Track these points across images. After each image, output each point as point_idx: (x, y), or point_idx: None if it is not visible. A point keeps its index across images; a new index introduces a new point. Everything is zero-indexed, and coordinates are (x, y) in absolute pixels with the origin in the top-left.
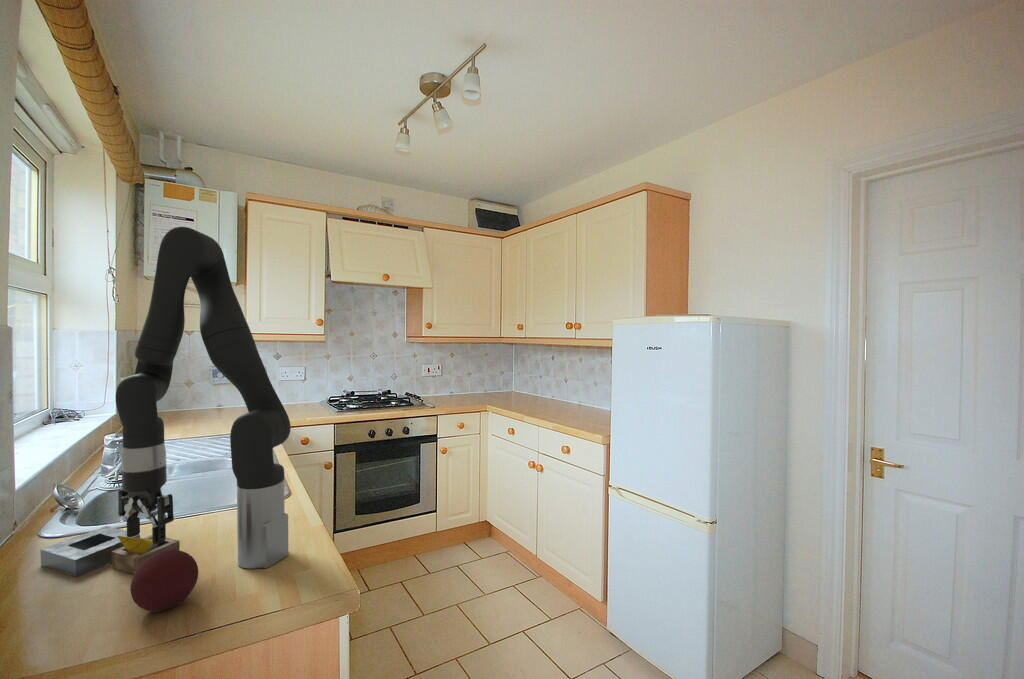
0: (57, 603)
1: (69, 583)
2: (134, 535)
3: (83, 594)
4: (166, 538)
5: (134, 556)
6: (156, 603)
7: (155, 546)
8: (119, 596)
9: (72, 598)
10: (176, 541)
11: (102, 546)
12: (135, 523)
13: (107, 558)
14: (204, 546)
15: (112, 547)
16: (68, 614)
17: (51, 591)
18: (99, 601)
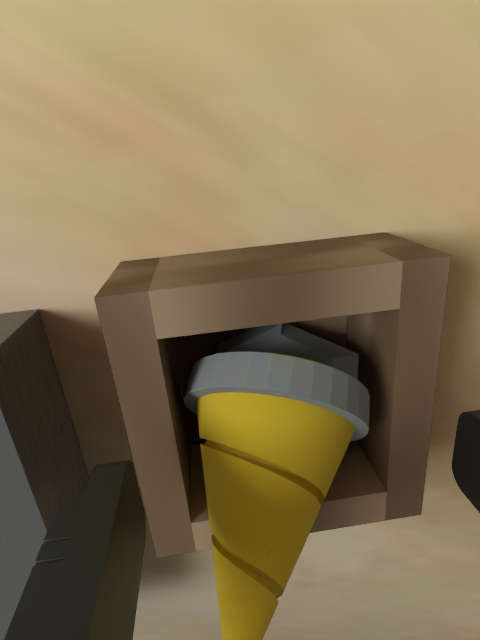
0: (294, 633)
1: (162, 591)
2: (136, 493)
3: (314, 584)
4: (302, 288)
5: (373, 514)
6: None
7: (369, 402)
8: (461, 529)
9: (306, 606)
10: (441, 277)
11: (7, 566)
12: (114, 606)
13: (79, 491)
14: (425, 45)
15: (50, 516)
16: (402, 627)
17: (174, 631)
18: (422, 569)
